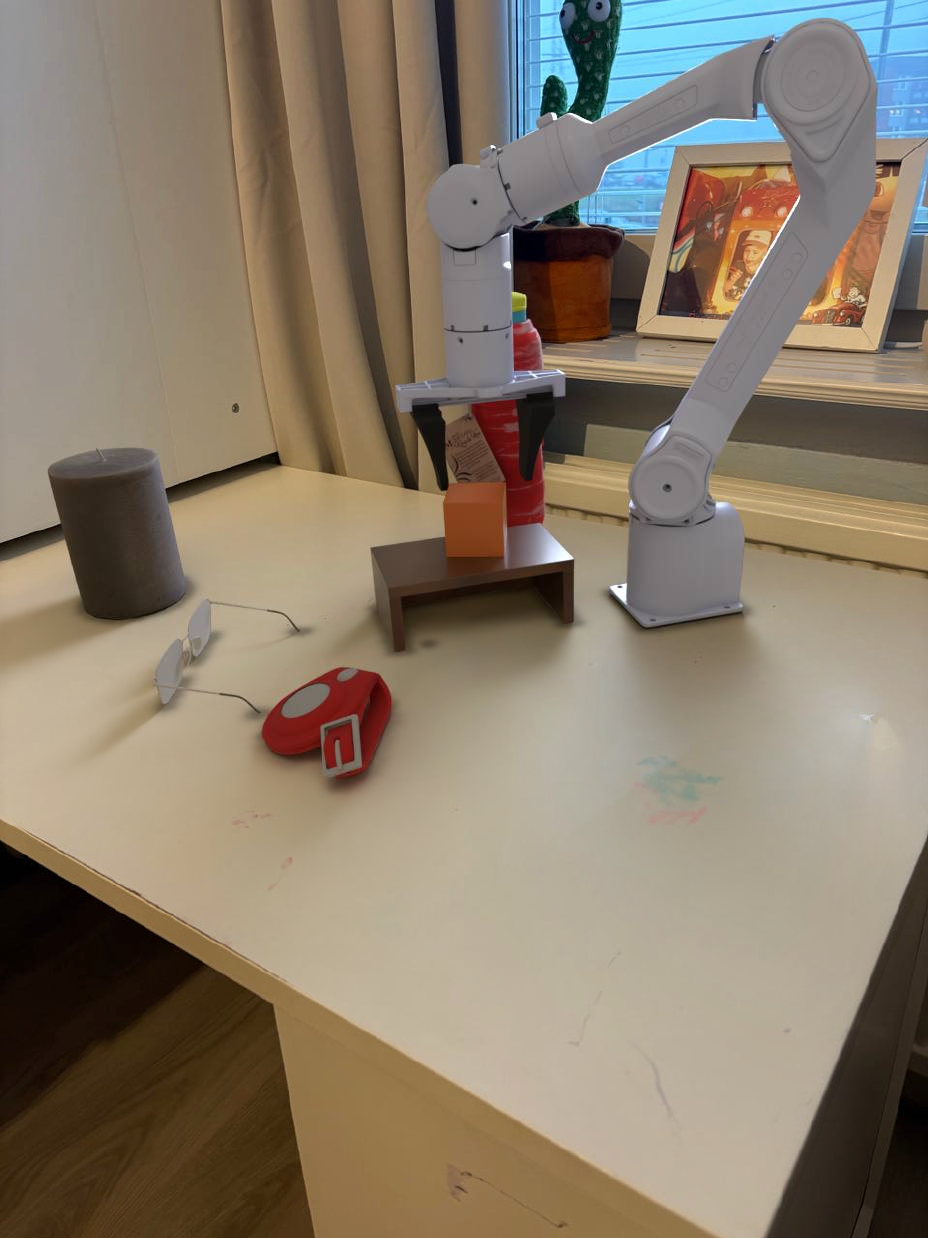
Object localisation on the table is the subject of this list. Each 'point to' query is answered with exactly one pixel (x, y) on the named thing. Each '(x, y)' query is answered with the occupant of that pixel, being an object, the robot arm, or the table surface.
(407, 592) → the shelf
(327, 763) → the tracker holder
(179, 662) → the eyeglasses
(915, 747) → the table surface
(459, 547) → the plain orange wooden cube
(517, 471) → the water bottle
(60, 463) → the pillar candle
